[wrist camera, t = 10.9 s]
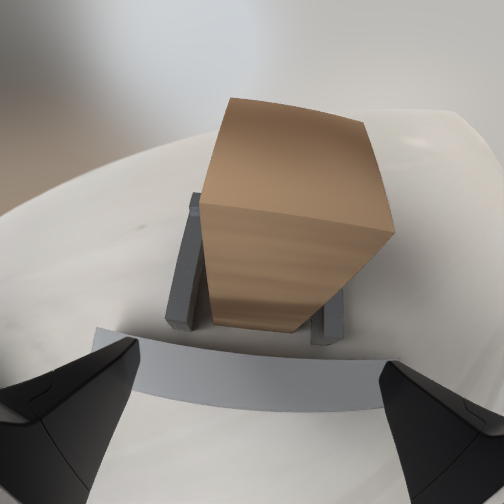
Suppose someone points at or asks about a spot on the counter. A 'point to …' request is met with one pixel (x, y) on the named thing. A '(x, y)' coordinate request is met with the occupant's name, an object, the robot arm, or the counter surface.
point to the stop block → (287, 213)
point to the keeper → (188, 277)
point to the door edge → (252, 378)
